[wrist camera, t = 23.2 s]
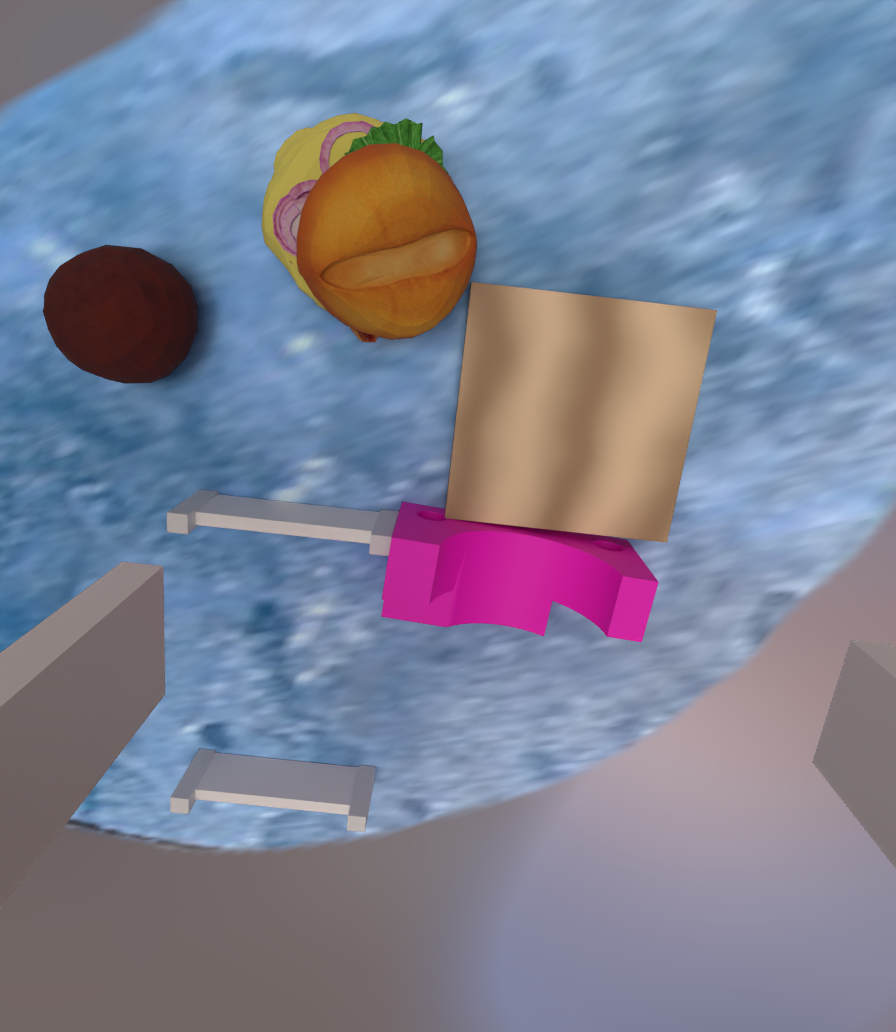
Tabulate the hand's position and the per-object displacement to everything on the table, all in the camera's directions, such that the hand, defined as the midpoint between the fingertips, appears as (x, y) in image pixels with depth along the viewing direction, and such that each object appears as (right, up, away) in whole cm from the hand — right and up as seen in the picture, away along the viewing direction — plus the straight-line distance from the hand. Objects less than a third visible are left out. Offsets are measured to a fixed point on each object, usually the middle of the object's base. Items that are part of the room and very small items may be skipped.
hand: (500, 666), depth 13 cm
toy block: (+3, 0, +33) cm, 33 cm away
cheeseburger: (-6, +20, +26) cm, 34 cm away
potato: (-19, +15, +28) cm, 37 cm away
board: (+7, +9, +29) cm, 31 cm away
